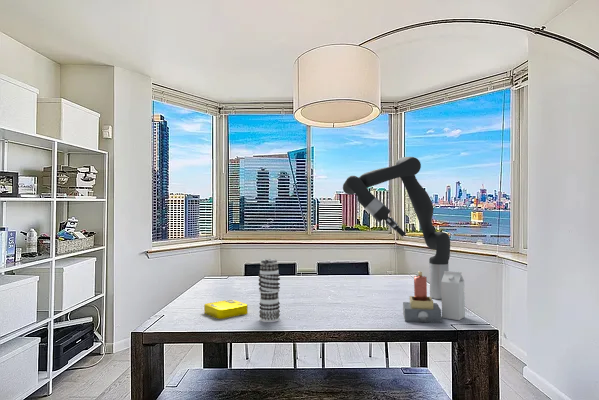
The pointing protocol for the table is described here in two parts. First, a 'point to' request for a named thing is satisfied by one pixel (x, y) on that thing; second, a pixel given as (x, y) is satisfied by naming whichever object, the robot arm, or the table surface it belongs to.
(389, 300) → the table surface
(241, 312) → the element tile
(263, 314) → the decorative candle
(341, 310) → the table surface
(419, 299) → the red bottle
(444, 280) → the milk carton
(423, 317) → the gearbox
